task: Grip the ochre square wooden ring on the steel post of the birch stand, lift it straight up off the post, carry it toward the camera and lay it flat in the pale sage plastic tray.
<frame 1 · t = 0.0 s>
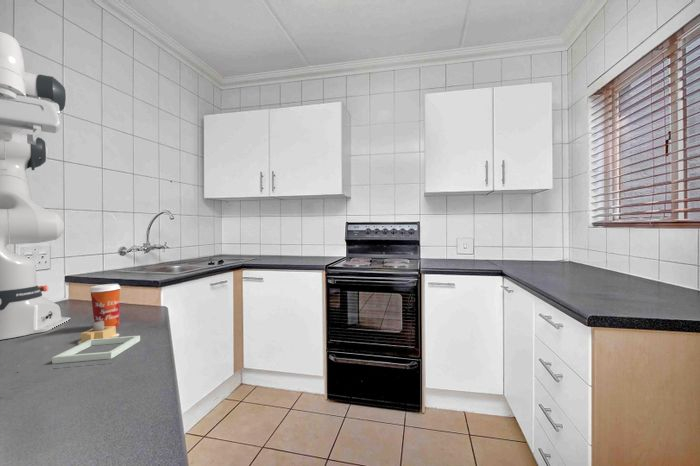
hand: (2, 139, 74), 52 cm above the countertop, tool tilted 20°, fingers open, 8 cm apart
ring: (99, 338, 87), point 1 cm above the countertop, touching stand
paper cup: (107, 331, 98), on the countertop
stand: (99, 342, 87), on the countertop
tray: (100, 355, 76), on the countertop
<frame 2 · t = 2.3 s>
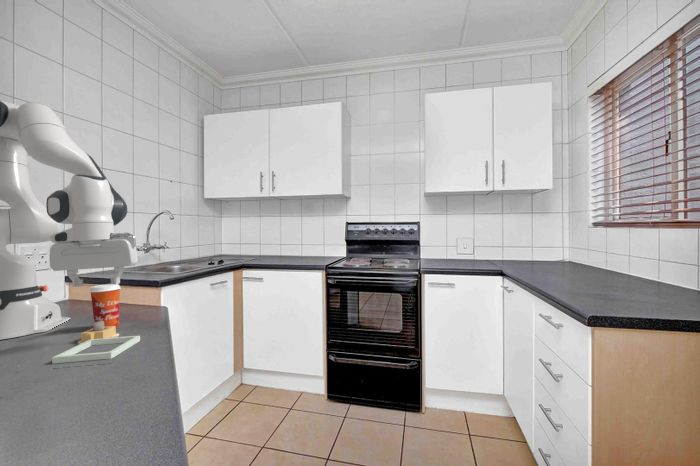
hand: (96, 285, 86), 16 cm above the countertop, tool pointing down, fingers open, 8 cm apart
nothing on the countertop moved.
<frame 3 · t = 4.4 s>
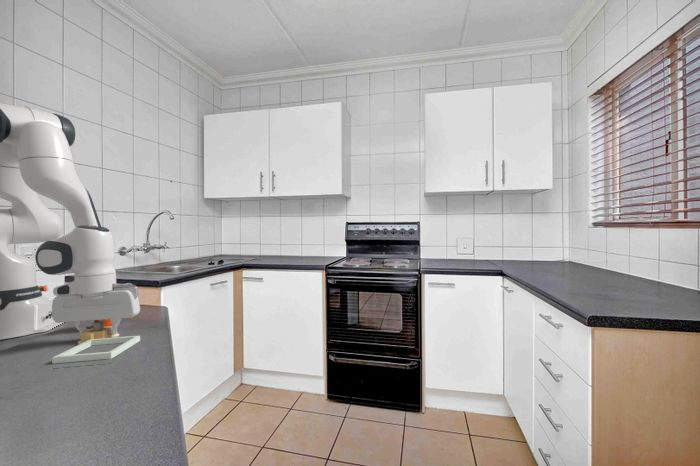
hand: (98, 335, 87), 2 cm above the countertop, tool pointing down, fingers closed on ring, 5 cm apart
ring: (99, 338, 87), point 1 cm above the countertop, touching gripper, stand
everything else where it was.
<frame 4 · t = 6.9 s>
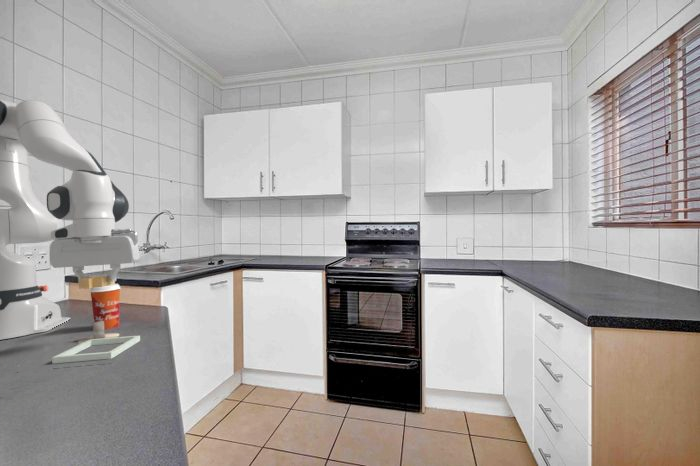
hand: (97, 282, 85), 17 cm above the countertop, tool pointing down, fingers closed on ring, 5 cm apart
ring: (97, 286, 85), point 16 cm above the countertop, touching gripper
everything else where it was.
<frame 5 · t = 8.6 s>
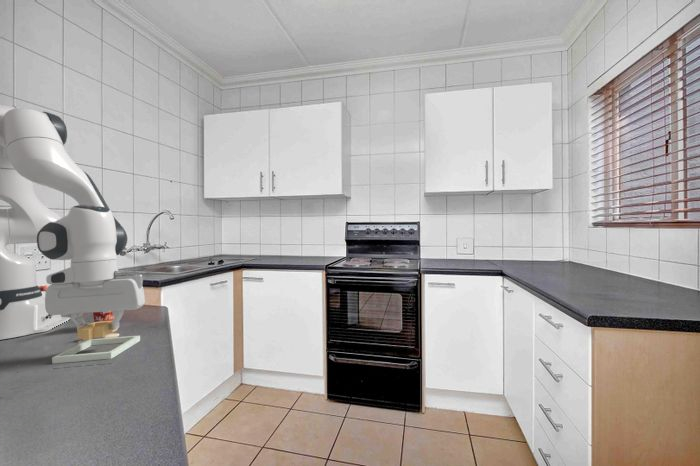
hand: (98, 330, 76), 6 cm above the countertop, tool pointing down, fingers closed on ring, 5 cm apart
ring: (98, 334, 76), point 5 cm above the countertop, touching gripper
everything else where it was.
when the fingers open (3 cm above the countertop, at t = 9.8 s): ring drops 1 cm, resting on tray.
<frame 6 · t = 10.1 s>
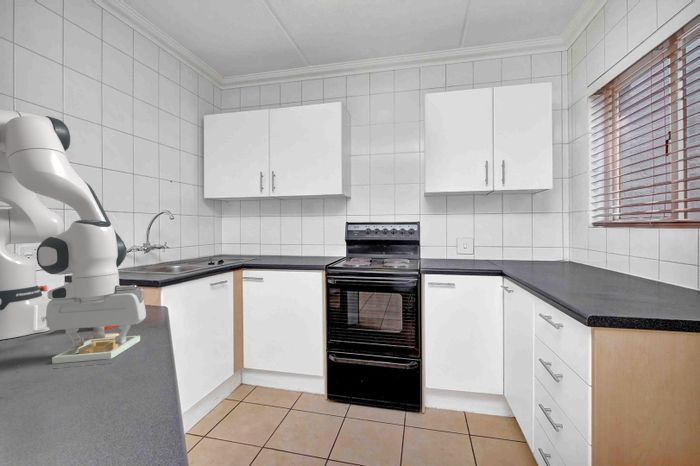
hand: (99, 344, 76), 3 cm above the countertop, tool pointing down, fingers open, 8 cm apart
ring: (99, 354, 76), resting on tray
everything else where it was.
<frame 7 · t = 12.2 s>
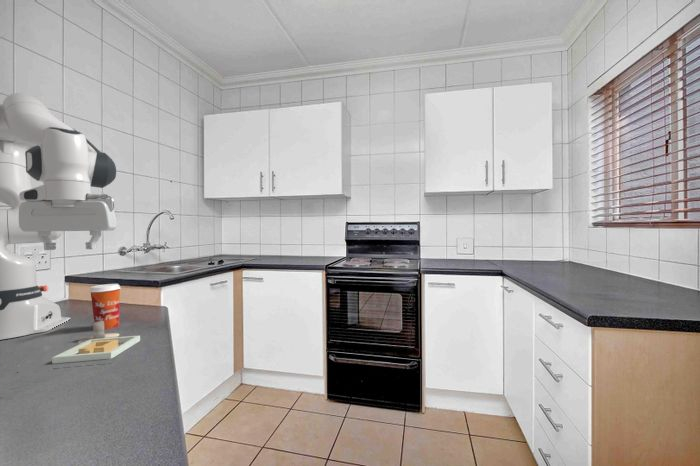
hand: (70, 249, 80), 26 cm above the countertop, tool pointing down, fingers open, 8 cm apart
nothing on the countertop moved.
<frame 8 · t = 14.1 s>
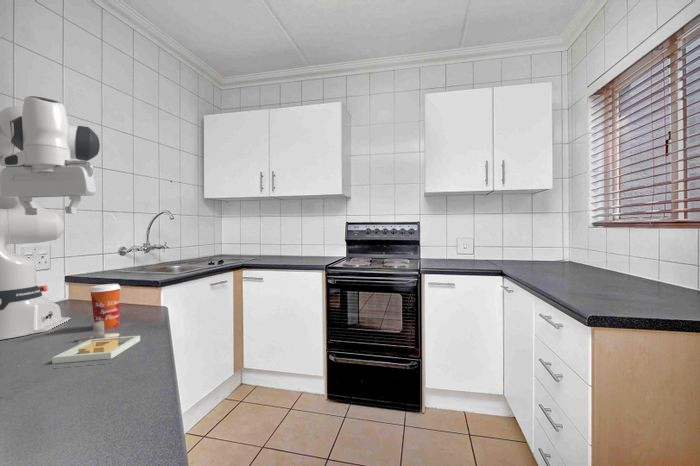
hand: (51, 214, 83), 35 cm above the countertop, tool pointing down, fingers open, 8 cm apart
nothing on the countertop moved.
at the end: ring inside the target area on the tray (0.2 cm from its centre), point 0.5 cm above the tray's base; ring tilted 0°; the gripper is holding nothing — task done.
